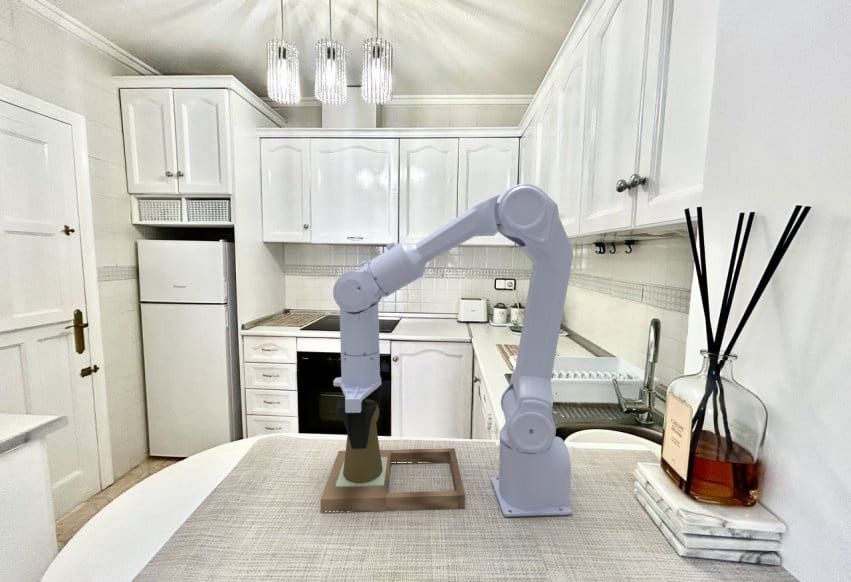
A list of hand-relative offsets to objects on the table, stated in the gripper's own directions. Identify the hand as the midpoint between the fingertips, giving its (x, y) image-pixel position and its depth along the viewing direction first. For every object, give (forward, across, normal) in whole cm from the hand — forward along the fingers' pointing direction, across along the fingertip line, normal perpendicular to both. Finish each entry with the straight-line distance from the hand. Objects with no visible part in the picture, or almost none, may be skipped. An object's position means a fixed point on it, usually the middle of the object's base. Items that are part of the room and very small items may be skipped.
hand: (362, 437), depth 53 cm
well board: (+8, 0, +5) cm, 9 cm away
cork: (+6, 0, 0) cm, 6 cm away
